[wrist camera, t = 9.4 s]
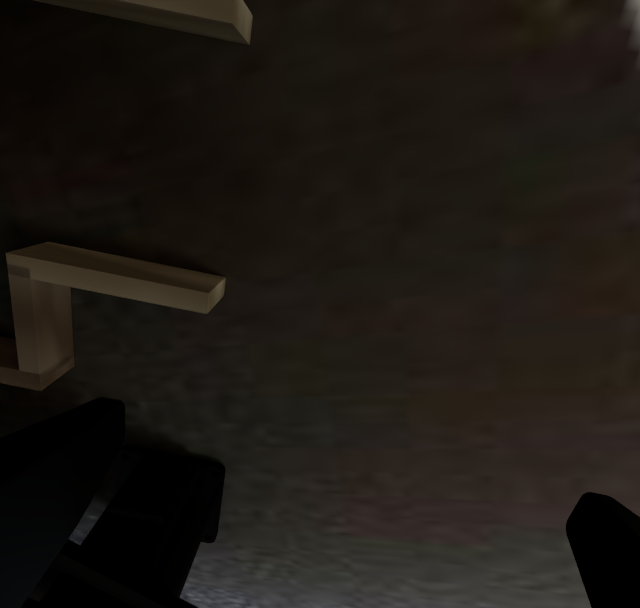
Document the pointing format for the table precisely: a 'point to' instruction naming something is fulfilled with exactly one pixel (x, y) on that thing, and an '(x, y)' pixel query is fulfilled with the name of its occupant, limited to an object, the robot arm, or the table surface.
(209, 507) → the robot arm
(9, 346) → the box
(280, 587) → the table surface
